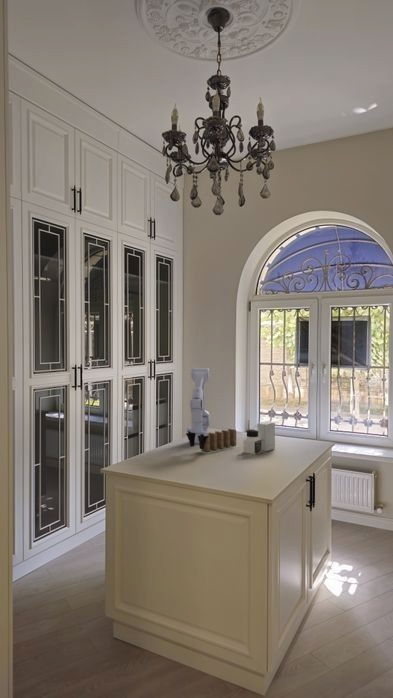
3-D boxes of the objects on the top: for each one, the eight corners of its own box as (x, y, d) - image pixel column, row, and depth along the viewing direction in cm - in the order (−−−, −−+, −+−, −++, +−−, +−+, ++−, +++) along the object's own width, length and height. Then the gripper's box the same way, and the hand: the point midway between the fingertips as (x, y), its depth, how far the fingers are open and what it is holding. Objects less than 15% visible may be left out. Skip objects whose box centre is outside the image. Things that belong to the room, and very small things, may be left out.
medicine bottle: (254, 454, 238) (254, 431, 237) (243, 452, 242) (243, 430, 242) (261, 452, 244) (261, 429, 243) (250, 449, 248) (250, 427, 247)
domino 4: (227, 444, 258) (227, 428, 258) (229, 444, 259) (229, 428, 259) (234, 446, 255) (234, 430, 254) (236, 445, 256) (236, 429, 255)
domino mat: (196, 451, 245) (196, 450, 245) (230, 443, 262) (230, 443, 262) (206, 454, 239) (206, 453, 239) (241, 446, 256) (241, 445, 256)
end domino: (201, 450, 245) (201, 434, 245) (203, 450, 246) (203, 433, 246) (207, 452, 241) (207, 435, 241) (209, 452, 242) (209, 435, 242)
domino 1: (208, 449, 249) (208, 432, 248) (210, 448, 250) (210, 432, 249) (214, 450, 245) (214, 434, 244) (216, 450, 246) (216, 433, 246)
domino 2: (215, 447, 252) (215, 431, 252) (217, 447, 253) (217, 431, 253) (221, 449, 248) (221, 432, 248) (223, 448, 249) (223, 432, 249)
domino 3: (221, 446, 255) (221, 430, 255) (223, 445, 256) (223, 429, 256) (227, 447, 251) (227, 431, 251) (230, 447, 252) (229, 431, 252)
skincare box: (267, 447, 254) (267, 420, 253) (275, 449, 249) (275, 422, 248) (256, 449, 248) (256, 422, 248) (265, 451, 244) (265, 424, 243)
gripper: (182, 420, 242) (182, 446, 243) (200, 424, 231) (200, 451, 232) (192, 419, 247) (192, 444, 247) (210, 422, 236) (210, 449, 236)
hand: (197, 447), depth 240 cm, fingers open, 7 cm apart
